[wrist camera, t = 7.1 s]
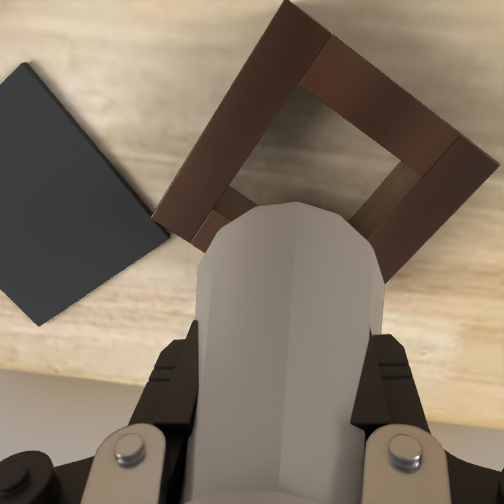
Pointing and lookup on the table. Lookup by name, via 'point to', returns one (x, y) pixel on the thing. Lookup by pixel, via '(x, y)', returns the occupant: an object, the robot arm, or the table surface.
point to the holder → (353, 110)
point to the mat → (60, 204)
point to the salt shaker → (281, 359)
